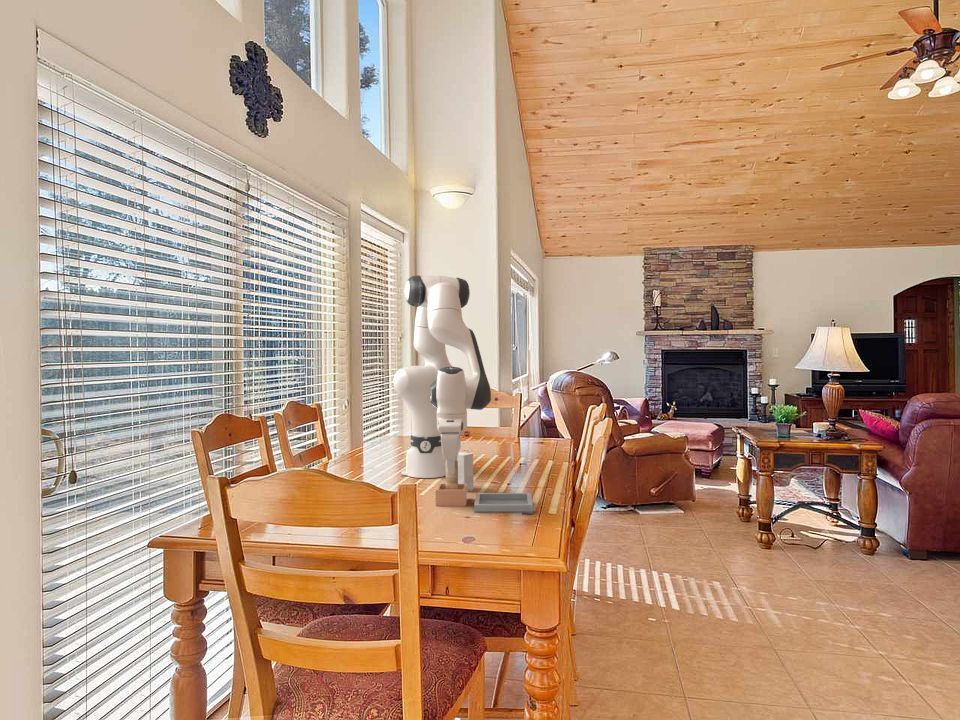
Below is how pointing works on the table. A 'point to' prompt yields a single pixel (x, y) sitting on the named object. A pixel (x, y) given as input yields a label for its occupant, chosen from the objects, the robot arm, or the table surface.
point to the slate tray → (503, 503)
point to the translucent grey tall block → (452, 478)
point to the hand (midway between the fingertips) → (452, 470)
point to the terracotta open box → (451, 496)
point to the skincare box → (465, 469)
